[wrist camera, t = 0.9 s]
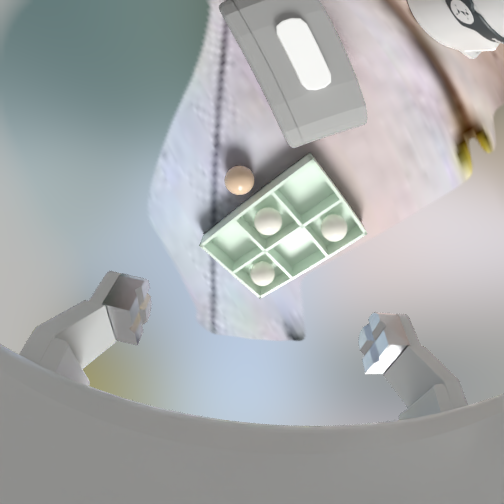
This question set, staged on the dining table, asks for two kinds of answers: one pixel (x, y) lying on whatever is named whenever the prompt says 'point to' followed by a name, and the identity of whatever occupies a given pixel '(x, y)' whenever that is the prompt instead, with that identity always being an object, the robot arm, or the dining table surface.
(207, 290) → the dining table surface
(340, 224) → the cream egg
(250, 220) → the egg tray
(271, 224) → the cream egg
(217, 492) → the robot arm
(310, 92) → the alarm clock
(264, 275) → the cream egg
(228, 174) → the brown egg
